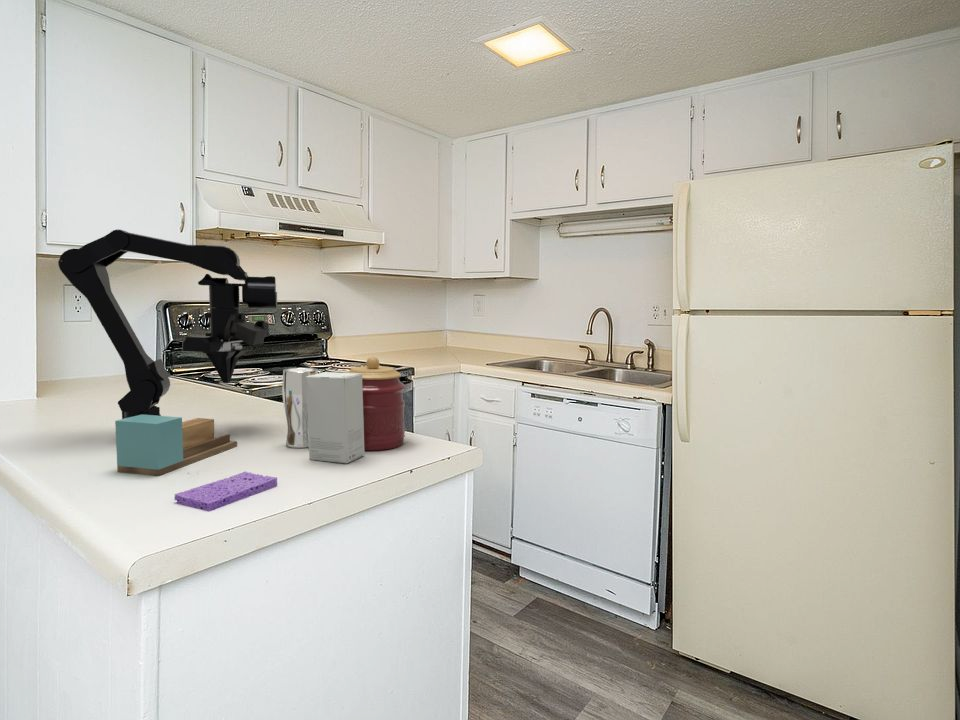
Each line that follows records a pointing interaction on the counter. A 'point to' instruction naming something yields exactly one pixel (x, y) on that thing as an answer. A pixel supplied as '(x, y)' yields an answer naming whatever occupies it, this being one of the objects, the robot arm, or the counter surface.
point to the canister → (381, 406)
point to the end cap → (149, 441)
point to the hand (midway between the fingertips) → (226, 382)
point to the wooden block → (197, 431)
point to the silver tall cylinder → (296, 405)
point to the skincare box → (335, 416)
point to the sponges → (225, 491)
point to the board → (189, 455)
